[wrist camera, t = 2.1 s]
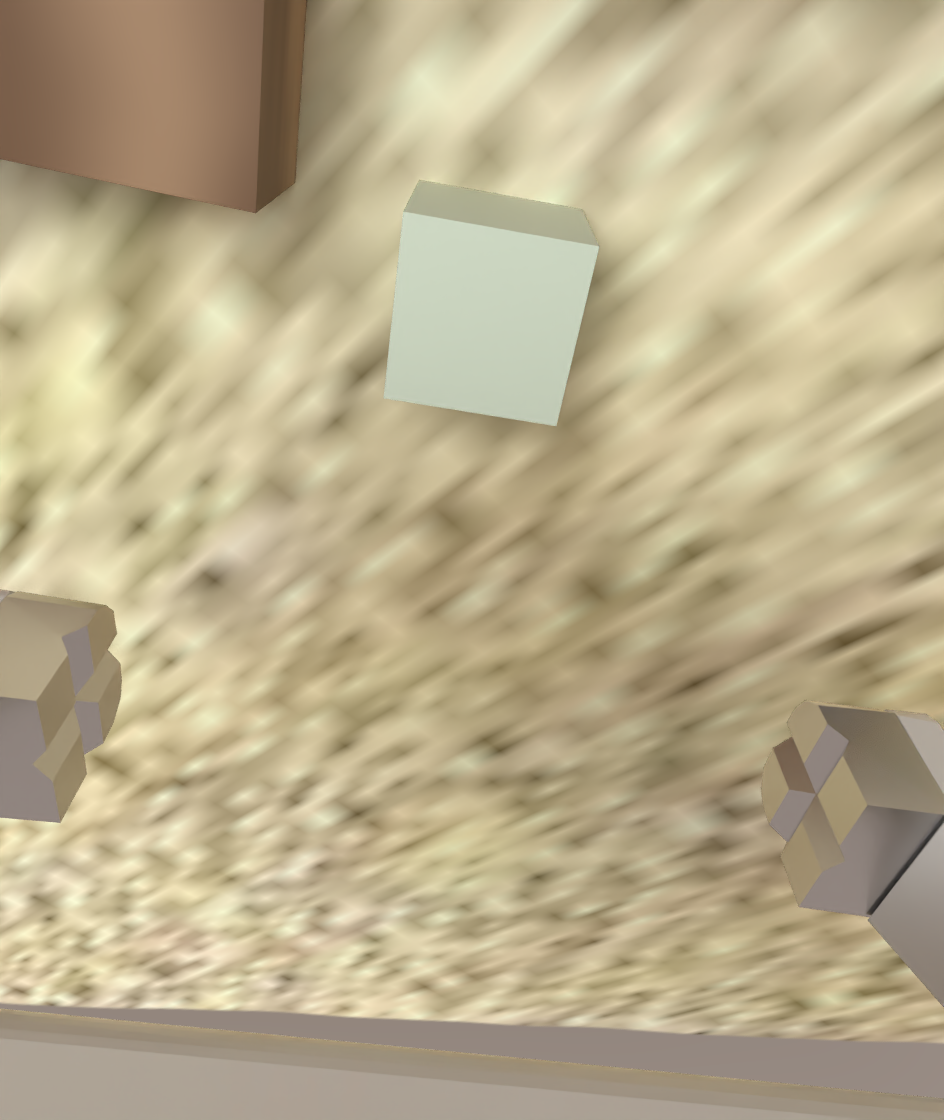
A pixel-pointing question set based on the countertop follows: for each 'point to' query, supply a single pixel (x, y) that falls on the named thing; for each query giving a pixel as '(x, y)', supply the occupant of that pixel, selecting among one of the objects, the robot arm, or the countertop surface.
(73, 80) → the walnut block
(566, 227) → the sage cube
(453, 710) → the countertop surface
